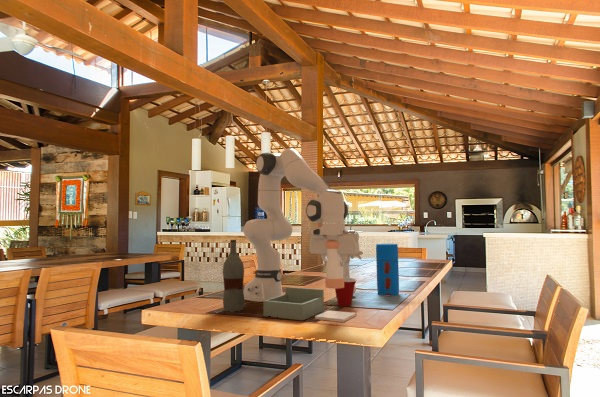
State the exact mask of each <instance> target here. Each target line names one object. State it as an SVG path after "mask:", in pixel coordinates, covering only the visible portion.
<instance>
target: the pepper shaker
mask: <svg viewBox="0 0 600 397" xmlns="http://www.w3.org/2000/svg"><path fill="white" fill-rule="evenodd" d="M325 246H326V248H328V249H327V256H326V259H327V265H326V267H325V274H326V275H325V276H326V277H325V279H324V280H325V281H324V282H325V288H326V289H331V290H332V289H334V290H335V289H337V288H344V278H343V266H340V262H342V260H341V254H337V248H338V247H339V242H338V241H335V240H329V241H327V242H326V243H325Z"/></svg>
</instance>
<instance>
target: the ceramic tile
mask: <svg viewBox="0 0 600 397" xmlns="http://www.w3.org/2000/svg"><path fill="white" fill-rule="evenodd" d="M356 316H357V312H349V311H340V310H329V309H328V310H327V311H324V312H321V313H319V314H317V315H314V320H321V321H322V320H323V321H331V322H340V323H345V322H346V321H348V320H351V319H352V318H354V317H356Z"/></svg>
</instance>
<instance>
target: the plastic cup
mask: <svg viewBox="0 0 600 397" xmlns="http://www.w3.org/2000/svg"><path fill="white" fill-rule="evenodd" d="M343 278H344V288H337V289H334V292H335V297H336V302H337V305H338V306H339V307H344V308H345V307H351V306H352V303H353V297H354V294H353V291H354V286H355V287H356V282H357V281H358V280H357V279H356V278H352V277H350V278H346V277H343Z"/></svg>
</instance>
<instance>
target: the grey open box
mask: <svg viewBox="0 0 600 397" xmlns="http://www.w3.org/2000/svg"><path fill="white" fill-rule="evenodd" d="M284 288H285V289H284V290H285V291H284V292H285V294H284V293H283V295H281V296H278V297H274V298H271V299H268V300H264V301H263V304H262V308H263V310H262V311H263V317H268V316H271V317H270V318H277V317H278V318H277V319H279V318H280V319H288V320H295V321H305V320H307V319H310V318H312V317H315V316H317V315H319V314H321V313H324V312H325V298H324V294H325V293H324V289H323V288H322V289H321V288H310V287H309V288H306V287H293V286H285V287H284Z"/></svg>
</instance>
